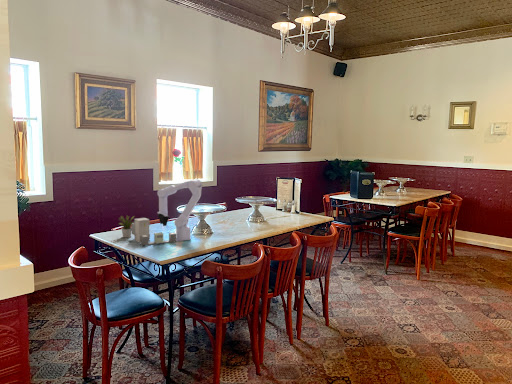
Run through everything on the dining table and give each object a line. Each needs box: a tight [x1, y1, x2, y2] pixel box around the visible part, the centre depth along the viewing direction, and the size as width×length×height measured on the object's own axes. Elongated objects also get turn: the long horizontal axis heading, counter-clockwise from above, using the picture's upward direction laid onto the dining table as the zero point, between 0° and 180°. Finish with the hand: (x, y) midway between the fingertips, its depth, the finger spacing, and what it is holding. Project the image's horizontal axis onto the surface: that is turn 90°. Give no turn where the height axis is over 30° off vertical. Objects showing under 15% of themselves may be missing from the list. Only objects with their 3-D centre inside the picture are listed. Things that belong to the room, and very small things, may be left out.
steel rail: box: [139, 239, 178, 247], centre depth 260 cm, size 24×4×1 cm, turn 119°
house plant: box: [118, 215, 135, 238], centre depth 274 cm, size 14×14×16 cm
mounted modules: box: [140, 232, 176, 246], centre depth 260 cm, size 22×5×5 cm, turn 119°
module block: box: [153, 231, 164, 243], centre depth 260 cm, size 5×5×6 cm
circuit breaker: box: [131, 217, 151, 243], centre depth 268 cm, size 8×14×15 cm, turn 41°
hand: (163, 224), depth 275 cm, fingers open, 7 cm apart
